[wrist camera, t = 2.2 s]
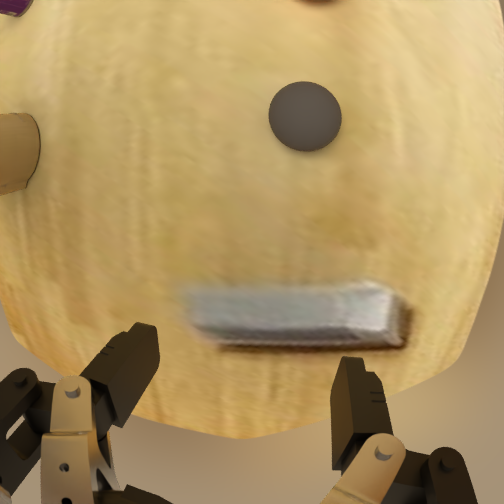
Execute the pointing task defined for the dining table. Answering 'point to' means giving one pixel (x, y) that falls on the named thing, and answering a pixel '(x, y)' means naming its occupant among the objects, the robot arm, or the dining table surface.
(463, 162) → the dining table surface
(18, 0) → the container
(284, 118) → the dark grey ball
